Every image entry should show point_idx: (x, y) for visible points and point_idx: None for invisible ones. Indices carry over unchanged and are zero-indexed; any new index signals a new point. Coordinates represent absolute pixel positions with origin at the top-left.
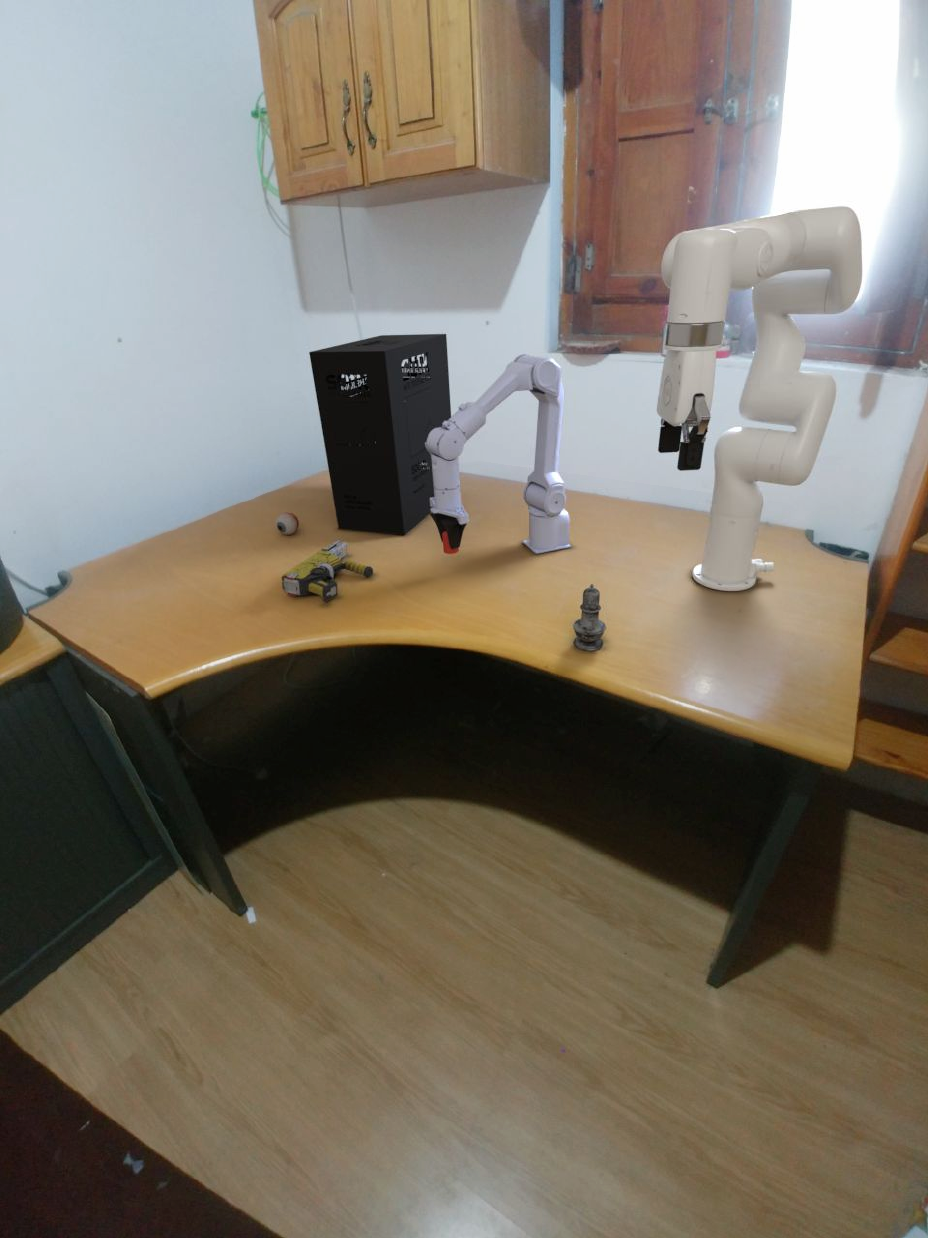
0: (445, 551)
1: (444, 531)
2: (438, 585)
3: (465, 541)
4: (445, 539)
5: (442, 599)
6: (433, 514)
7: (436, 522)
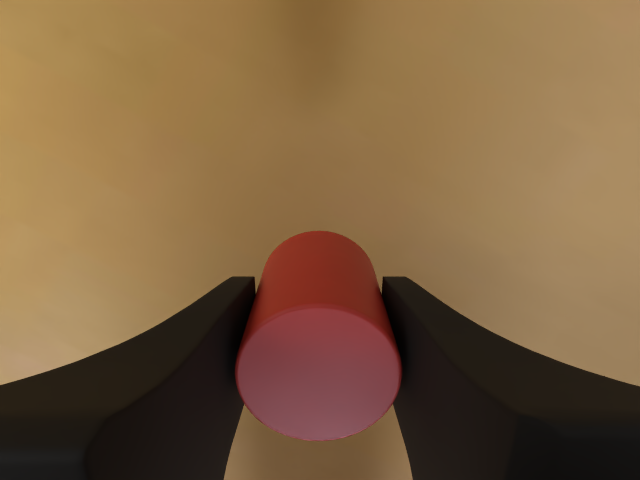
0: (301, 237)
1: (392, 354)
2: (209, 84)
3: None
4: (284, 289)
5: (28, 16)
6: (634, 467)
7: (484, 367)
